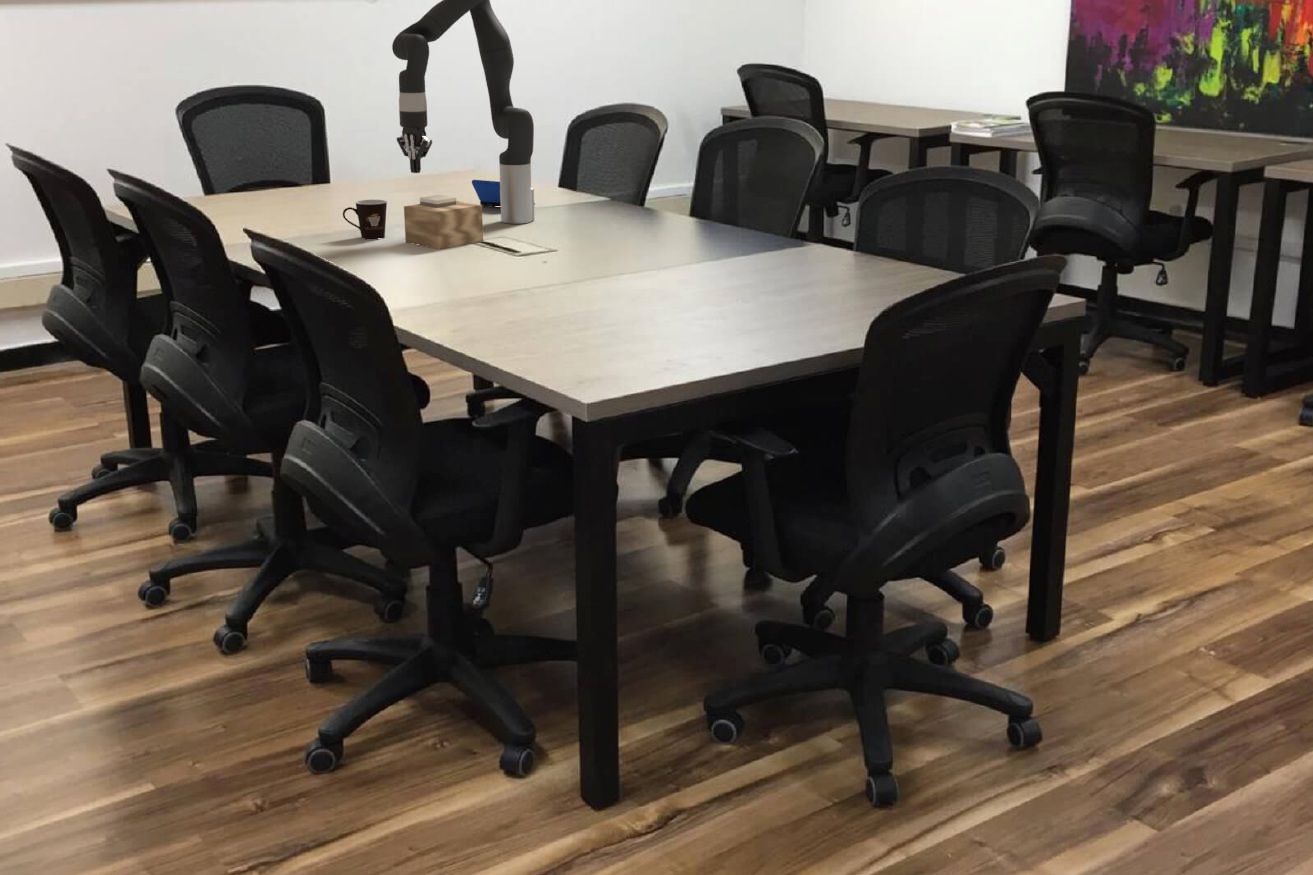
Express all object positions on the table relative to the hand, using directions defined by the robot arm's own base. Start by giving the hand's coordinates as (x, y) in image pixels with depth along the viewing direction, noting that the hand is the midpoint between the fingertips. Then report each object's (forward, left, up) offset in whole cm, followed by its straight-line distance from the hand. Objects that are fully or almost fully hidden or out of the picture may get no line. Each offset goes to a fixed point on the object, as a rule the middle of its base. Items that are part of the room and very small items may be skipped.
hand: (415, 172), depth 413 cm
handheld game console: (-52, -21, -19) cm, 59 cm away
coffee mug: (+10, -10, -18) cm, 23 cm away
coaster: (0, +9, -8) cm, 12 cm away
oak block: (0, +11, -18) cm, 21 cm away
